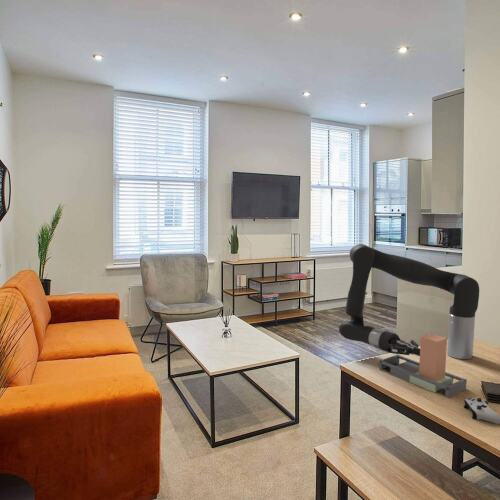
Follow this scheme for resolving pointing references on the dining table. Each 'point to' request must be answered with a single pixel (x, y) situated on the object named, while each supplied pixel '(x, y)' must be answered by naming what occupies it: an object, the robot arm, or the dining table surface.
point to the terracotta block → (433, 357)
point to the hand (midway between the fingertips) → (424, 354)
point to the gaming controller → (481, 410)
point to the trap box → (411, 374)
